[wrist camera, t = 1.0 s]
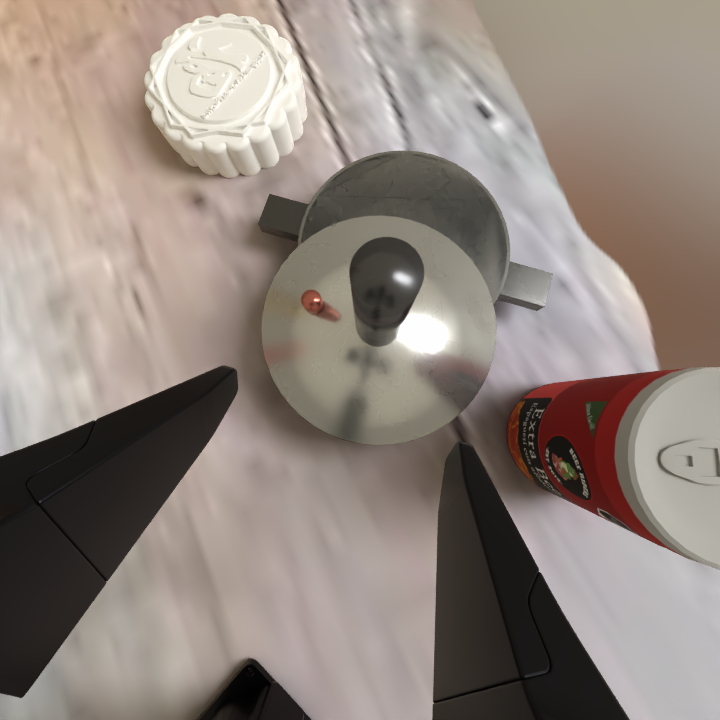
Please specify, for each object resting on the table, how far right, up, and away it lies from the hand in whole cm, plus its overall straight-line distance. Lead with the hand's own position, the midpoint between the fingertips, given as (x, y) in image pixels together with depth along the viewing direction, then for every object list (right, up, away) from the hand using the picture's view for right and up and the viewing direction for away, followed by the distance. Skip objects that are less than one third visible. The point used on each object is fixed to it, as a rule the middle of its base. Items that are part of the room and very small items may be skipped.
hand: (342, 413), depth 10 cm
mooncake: (-10, +22, +18) cm, 30 cm away
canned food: (+15, -4, +13) cm, 20 cm away
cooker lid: (+2, +4, +11) cm, 12 cm away
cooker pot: (+4, +9, +15) cm, 18 cm away
